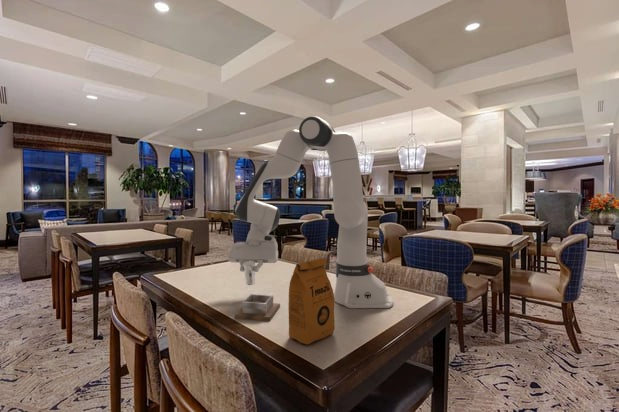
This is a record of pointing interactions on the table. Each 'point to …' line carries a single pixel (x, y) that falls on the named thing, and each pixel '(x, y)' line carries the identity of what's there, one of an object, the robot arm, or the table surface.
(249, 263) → the milkshake
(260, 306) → the socket base
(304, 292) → the coffee package
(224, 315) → the table surface
